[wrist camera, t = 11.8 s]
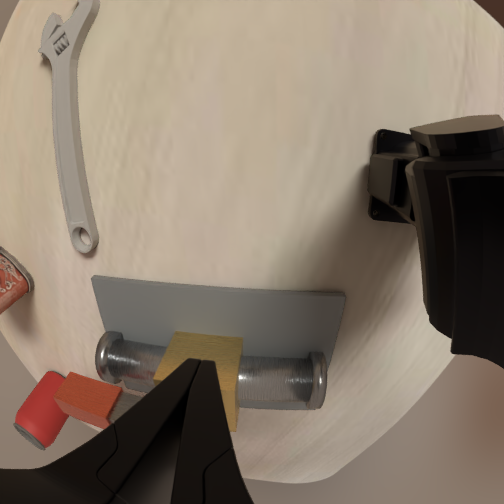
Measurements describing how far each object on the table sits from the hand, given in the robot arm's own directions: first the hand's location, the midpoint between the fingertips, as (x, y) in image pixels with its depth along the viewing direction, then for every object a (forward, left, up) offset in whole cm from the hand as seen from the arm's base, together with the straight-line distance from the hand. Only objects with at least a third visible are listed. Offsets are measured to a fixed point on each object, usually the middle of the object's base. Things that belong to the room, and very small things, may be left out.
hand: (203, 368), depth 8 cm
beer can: (+28, +25, -13) cm, 40 cm away
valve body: (+3, +12, -13) cm, 18 cm away
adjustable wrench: (+16, -11, -14) cm, 23 cm away
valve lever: (+8, +12, -6) cm, 16 cm away
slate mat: (+3, +12, -13) cm, 18 cm away
